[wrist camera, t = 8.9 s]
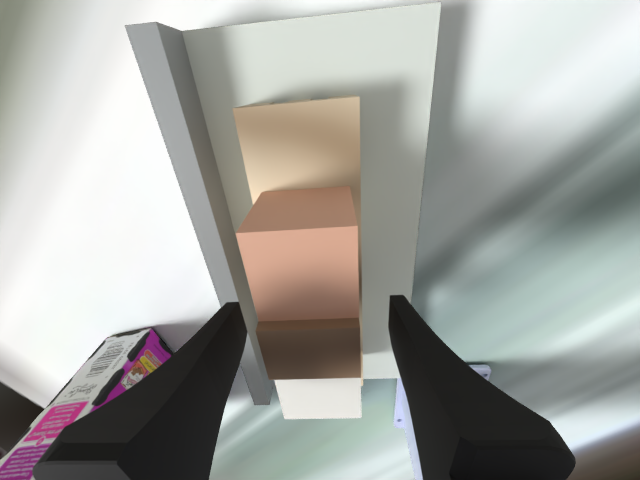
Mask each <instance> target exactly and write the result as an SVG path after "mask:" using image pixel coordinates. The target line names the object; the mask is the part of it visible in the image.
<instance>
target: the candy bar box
mask: <svg viewBox="0 0 640 480" xmlns="http://www.w3.org/2000/svg"><path fill="white" fill-rule="evenodd" d="M172 355H174V354H173V353H172V352H171V350H170V349H169V348H168V347H167V346H166V345H165V343H164V342H163V341H162V340H161V339H160V338H159V337H158V336H157V334H156V333H155V332H154V331H153V330H152V329H151V328H147V329H142V330H138V331H134V332H129V333H124V334H118V335H114V336H110V337H107V338H106V339H105V340H104V341H103V343H102V344H101V345H100V346H99V347H98V348H97V349H96V351H95V352H94V353H93V354H92V355H91V356H90V357H89V359H88V360H87V361H86V362H85V363H84V364H83V366H82V367H81V368H80V369H79V370H78V371H77V373H76V374H75V375H74V376H73V377H72V378H71V379H70V381H69V382H68V383H67V384H66V385H65V386H64V387H63V388H62V390H61V391H60V392H59V393H58V394H57V396H56V397H55V398H54V399H53V400H52V401H51V402H50V404H49V405H48V406H47V407H46V408H45V410H44V411H43V412H42V413H41V414H40V415H39V416H38V417H37V418H36V419H35V421H34V422H33V423H32V424H31V425H30V426H29V428H28V429H27V430H26V431H25V432H24V433H23V434H22V436H21V437H20V438H19V439H18V440H17V441H16V443H15V444H14V445H13V446H12V447H11V448H10V450H9V451H8V452H7V453H6V455H5V456H4V457H3V458H2V459H1V460H0V480H35V479H34V477H33V475H32V470H33V467H34V466H35V464H36V463H37V462H38V460H39V459H40V458H41V457H42V455H43V454H44V453H45V451H46V450H47V449H48V447H49V446H50V445H51V444H52V442H53V441H54V440H55V438H56V437H57V436H58V435H59V433H60V432H61V431H62V430H63V428H64V427H65V426H67V425H69V424H71V423H73V422H74V421H76V420H78V419H80V418H82V417H83V416H85V415H87V414H89V413H90V412H92V411H94V410H96V409H97V408H99V407H101V406H102V405H104V404H106V403H107V402H109V401H110V400H112V399H114V398H115V397H117V396H118V395H120V394H121V393H123V392H124V391H126V390H127V389H129V388H130V387H132V386H133V385H135V384H136V383H137V382H139V381H140V380H142V379H143V378H144V377H146V376H147V375H149V374H150V373H151V372H153V371H154V370H155V369H157V368H158V367H159V366H160V365H162V364H163V363H164V362H165V361H166V360H168V359H169V358H170V357H171V356H172Z"/></svg>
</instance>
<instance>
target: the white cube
mask: <svg viewBox="0 0 640 480" xmlns="http://www.w3.org/2000/svg"><path fill="white" fill-rule="evenodd" d="M274 381H275V385H276V388H277V392H278V396H279V400H280V404H281V407H282V411H283V415H284V419H325V418H361V378H332V379H290V380H274Z"/></svg>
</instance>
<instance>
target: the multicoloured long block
mask: <svg viewBox="0 0 640 480" xmlns="http://www.w3.org/2000/svg"><path fill="white" fill-rule="evenodd" d="M232 109H233V114H234V119H235V123H236V128H237V133H238V137H239V142H240V147H241V151H242V156H243V160H244V165H245V170H246V174H247V179H248V184H249V188H250V193H251V198H252V202H253V205H254V203H255V202H256V200H257V199H258V197H259V195H260V194H261V192H270V191H284V190H298V189H313V188H327V187H341V186H350V190H351V195H352V200H353V205H354V210H355V215H356V220H357V225H358V273H359V318H338V319H311V320H285V321H258V324H257V328H256V331H255V332H256V335H257V339H258V343H259V346H260V350H261V353H262V357H263V361H264V364H265V368H266V371H267V375H268V379H269V380H290V379H332V378H361V386H362V385H363V334H362V253H361V172H360V97H359V96H356V95H346V96H335V97H329V98H328V99H318V100H312V99H302V100H292V101H288V102H285V103H273V102H270V103H259V104H249V105H244V106H240V107H236V108H232Z"/></svg>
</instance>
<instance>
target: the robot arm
mask: <svg viewBox="0 0 640 480" xmlns="http://www.w3.org/2000/svg"><path fill="white" fill-rule="evenodd" d="M388 329H389V335H390V341H391V346H392V350H393V354H394V357H395V360H396V364H397V367H398V370H399V374H400V377H401V378H397V386H396V398H395V410H394V426H395V427H396V428H404V429H405V434H406V438H407V443H408V448H409V452H410V457H411V461H412V466H413V471H414V475H415V480H566V479H567V478H568V476H569V475H570V474H571V472H572V471H573V469H574V467H575V464H576V462H575V457H574V455H573V454H572V452H571V451H570V449H569V448H568V446H567V445H566V443H565V442H564V440H563V439H562V437H561V436H560V435H559V433H558V432H557V431H556V430H555V428H554V427H553V426H552V424H551V423H550V422H549V421H548V420H546V419H545V418H543V417H542V416H540V415H538V414H537V413H535V412H533V411H532V410H530V409H529V408H527V407H525V406H524V405H522V404H520V403H519V402H517V401H516V400H514V399H513V398H511V397H510V396H508V395H507V394H506V393H504V392H503V391H501V390H500V389H498V388H497V387H496V386H494V385H493V384H492V383H490V382H489V381H488V380H489V377H490V374H491V368H490V367H489V366H488V365H468V364H466V363H465V362H464V361H463V360H462V359H461V358H460V357H458V356H457V355H456V354H455V353H454V352H453V351H452V350H451V349H450V348H449V347H448V346H447V345H446V344H445V343H444V342H443V341H442V340H441V339H440V338H439V337H438V336H437V335H436V334H435V333H434V332H433V331H432V329H431V328H430V327H429V326H428V325H427V324H426V323H425V321H424V320H423V319H422V318H421V317H420V315H419V314H418V313H417V312H416V310H415V309H414V308H413V307H412V305H411V304H410V303H409V301H408V300H407V298H406V297H405V296H404V295H390V300H389V319H388ZM247 333H248V331H247V328H246V324H245V321H244V318H243V314H242V311H241V307H240V304H239V302H226V303H225V304H224V305H223V306H222V307H221V308H220V309H219V310H218V312H217V313H216V314H215V315H214V316H213V317H212V318H211V319H210V320H209V321H208V322H207V323H206V324H205V325H204V326H203V327H202V328H201V329H200V330H199V331H198V332H197V333H196V334H195V335H194V336H193V337H192V338H191V339H190V340H189V341H188V342H187V343H186V344H185V345H183V346H182V347H181V348H180V349H179V350H178V351H177V352H176V353H175V354H174V355H172V356H171V357H170V358H169V359H168V360H166V361H165V362H164V363H163V364H162V365H160V366H159V367H158V368H157V369H155V370H154V371H153V372H151V373H150V374H149V375H147V376H146V377H144V378H143V379H142V380H140V381H139V382H137V383H136V384H135V385H133V386H132V387H130V388H129V389H127V390H126V391H124V392H123V393H121V394H120V395H118V396H117V397H115V398H114V399H112V400H110V401H109V402H107V403H106V404H104V405H102V406H101V407H99V408H97V409H96V410H94V411H92V412H90V413H89V414H87V415H85V416H83V417H82V418H80V419H78V420H76V421H74V422H73V423H71V424H69V425H67V426H65V427H64V428H63V430H62V431H61V432H60V433H59V435H58V436H57V437H56V438H55V440H54V441H53V442H52V444H51V445H50V446H49V447H48V449H47V450H46V451H45V453H44V454H43V455H42V457H41V458H40V459H39V460H38V462H37V463H36V464H35V466H34V467H33V470H32V475H33V477H34V479H35V480H209V475H210V470H211V465H212V460H213V455H214V451H215V446H216V442H217V437H218V433H219V429H220V424H221V420H222V416H223V412H224V408H225V405H226V402H227V398H228V396H229V393H230V390H231V387H232V384H233V381H234V378H235V376H236V373H237V370H238V367H239V364H240V361H241V358H242V355H243V352H244V348H245V343H246V338H247Z"/></svg>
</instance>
